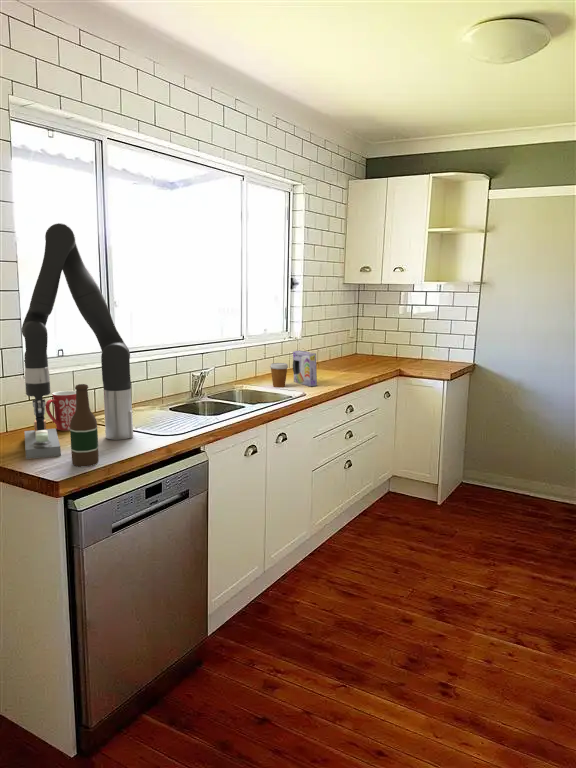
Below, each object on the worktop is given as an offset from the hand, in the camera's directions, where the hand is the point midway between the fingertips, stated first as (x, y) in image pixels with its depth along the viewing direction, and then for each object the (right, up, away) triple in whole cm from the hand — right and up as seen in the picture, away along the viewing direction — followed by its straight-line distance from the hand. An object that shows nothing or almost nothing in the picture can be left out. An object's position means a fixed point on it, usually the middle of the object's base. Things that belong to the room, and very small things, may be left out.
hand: (40, 431), depth 199 cm
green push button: (+7, -2, -15) cm, 16 cm away
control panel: (+2, -5, -4) cm, 7 cm away
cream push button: (+5, -1, -11) cm, 12 cm away
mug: (0, -1, +19) cm, 19 cm away
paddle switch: (-2, 0, +3) cm, 4 cm away
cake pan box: (+92, +16, +121) cm, 153 cm away
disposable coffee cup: (+79, +14, +113) cm, 138 cm away
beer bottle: (+22, -8, -21) cm, 32 cm away
